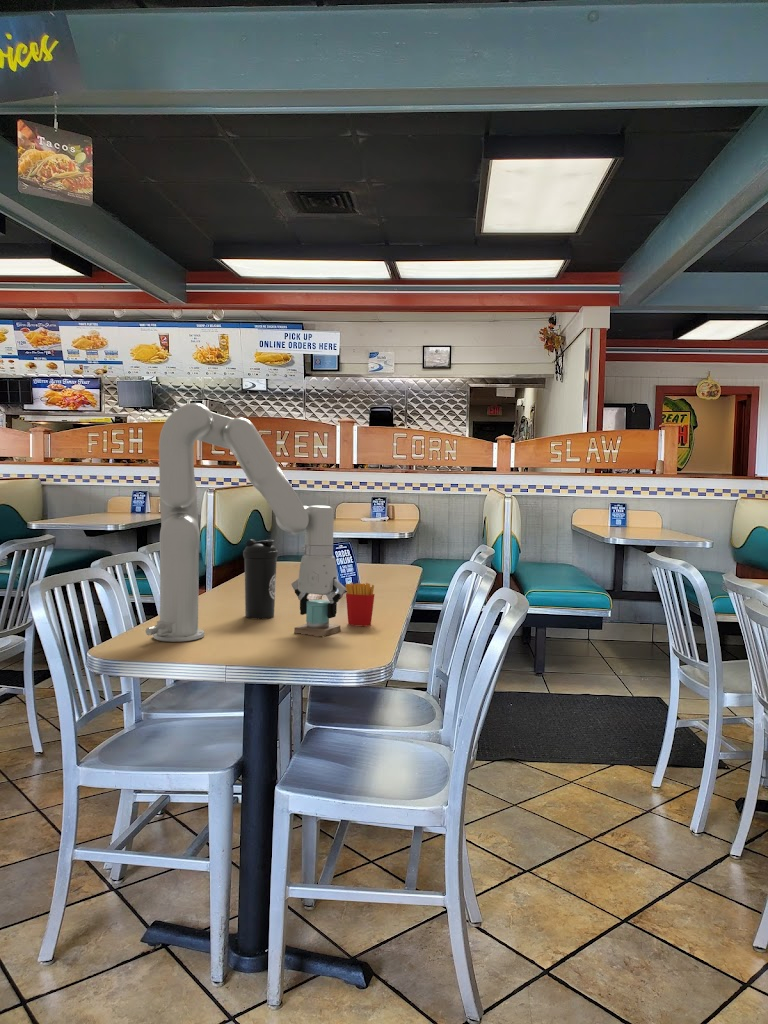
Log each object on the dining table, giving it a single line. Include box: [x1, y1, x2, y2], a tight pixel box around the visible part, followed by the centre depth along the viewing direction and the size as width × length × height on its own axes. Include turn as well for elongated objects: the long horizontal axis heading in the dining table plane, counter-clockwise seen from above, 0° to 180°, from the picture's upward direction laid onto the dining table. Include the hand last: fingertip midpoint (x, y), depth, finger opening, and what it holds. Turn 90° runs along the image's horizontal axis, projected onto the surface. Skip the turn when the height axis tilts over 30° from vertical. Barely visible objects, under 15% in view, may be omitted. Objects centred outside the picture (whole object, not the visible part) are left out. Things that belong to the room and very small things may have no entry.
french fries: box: [344, 582, 375, 627], centre depth 203 cm, size 8×4×12 cm, turn 81°
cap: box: [305, 599, 330, 623], centre depth 192 cm, size 6×6×5 cm
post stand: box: [293, 621, 341, 638], centre depth 192 cm, size 9×9×7 cm
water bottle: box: [242, 538, 279, 620], centre depth 212 cm, size 10×10×23 cm
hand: (317, 615), depth 192 cm, fingers open, 8 cm apart
